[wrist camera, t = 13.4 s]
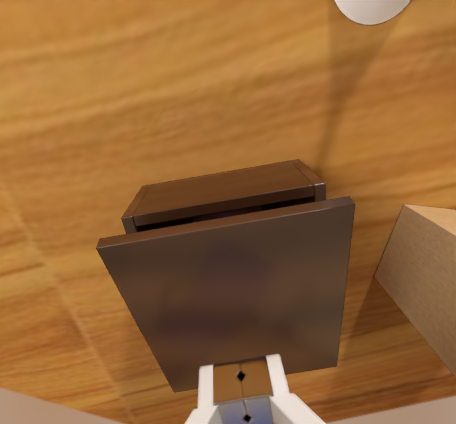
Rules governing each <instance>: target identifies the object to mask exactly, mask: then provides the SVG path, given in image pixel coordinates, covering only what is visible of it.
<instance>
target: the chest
mask: <svg viewBox="0 0 456 424" xmlns="http://www.w3.org/2000/svg"><path fill="white" fill-rule="evenodd" d="M324 200H326V184H325V182H324V181H323V180H321V179H320V178H319V177H318V176H317V175H316V174H315V173H314V172H312V171H311V170H310V169H309V168H308V167H307V166H306V165H305V164H303V163H302V162H301V161H300V160H299V159H297V160H291V161H285V162H279V163H273V164H268V165H262V166H256V167H250V168H245V169H239V170H233V171H227V172H221V173H216V174H210V175H204V176H198V177H192V178H187V179H181V180H175V181H169V182H163V183H158V184H152V185H146V186H142V187H141V189H140V190H139V192H138V194H137V195H136V197H135V198H134V200H133V201H132V203H131V204H130V206H129V207H128V209H127V210H126V212H125V213H124V215H123V216H122V218H121V219H122V222H123V225H124V228H125V231H126V234H130V233H136V232H142V231H148V230H154V229H160V228H166V227H171V226H177V225H183V224H189V223H192V222H193V217H198V216H203V215H209V214H215V213H221V212H227V211H233V210H239V209H245V208H250V207H256V206H261V208H262V210H263V211H266V210H271V209H277V208H283V207H289V206H295V205H301V204H307V203H313V202H318V201H324Z"/></svg>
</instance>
